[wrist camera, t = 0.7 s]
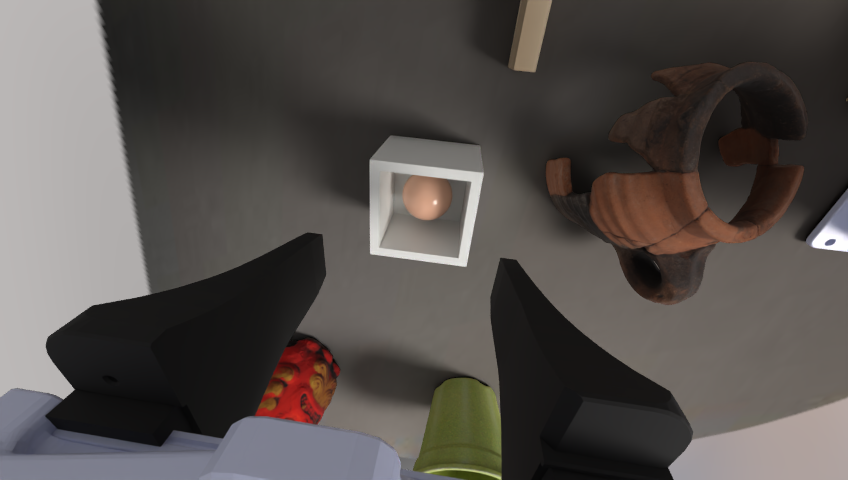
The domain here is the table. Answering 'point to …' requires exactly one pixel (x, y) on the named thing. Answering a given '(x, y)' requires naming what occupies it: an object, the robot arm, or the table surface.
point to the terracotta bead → (427, 196)
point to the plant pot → (462, 432)
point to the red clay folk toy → (301, 383)
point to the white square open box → (403, 231)
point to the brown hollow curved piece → (688, 175)
